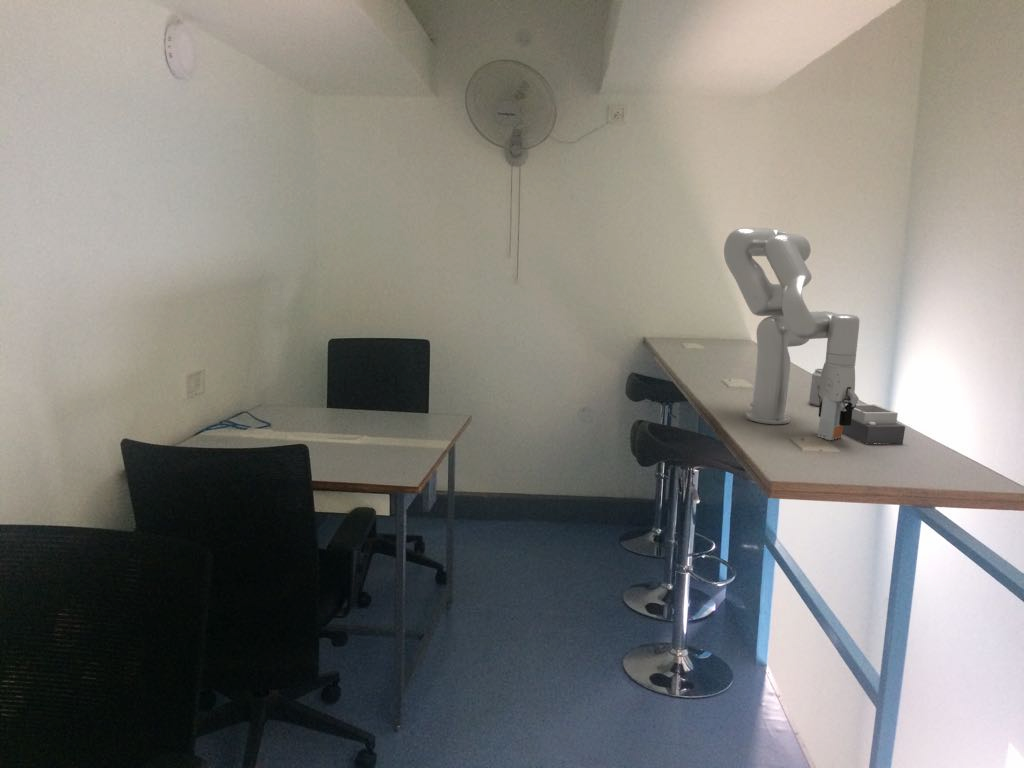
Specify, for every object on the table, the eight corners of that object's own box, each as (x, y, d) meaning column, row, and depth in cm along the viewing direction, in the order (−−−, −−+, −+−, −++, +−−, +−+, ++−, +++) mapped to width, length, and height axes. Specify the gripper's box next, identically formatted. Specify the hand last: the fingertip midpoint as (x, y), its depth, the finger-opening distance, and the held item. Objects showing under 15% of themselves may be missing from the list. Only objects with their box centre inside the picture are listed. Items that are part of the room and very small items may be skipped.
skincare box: (831, 441, 205) (837, 398, 203) (817, 437, 208) (822, 395, 206) (842, 437, 209) (847, 396, 207) (827, 434, 212) (832, 393, 210)
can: (836, 408, 245) (841, 372, 243) (813, 407, 245) (818, 371, 243) (827, 403, 253) (832, 368, 250) (805, 402, 253) (809, 367, 250)
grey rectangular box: (832, 428, 219) (835, 401, 217) (866, 428, 221) (869, 401, 219) (866, 444, 203) (870, 415, 202) (902, 443, 205) (906, 414, 203)
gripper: (810, 355, 212) (804, 414, 215) (847, 365, 195) (840, 428, 198) (834, 355, 213) (828, 413, 216) (873, 364, 196) (866, 428, 199)
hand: (834, 421), depth 207 cm, fingers open, 9 cm apart
